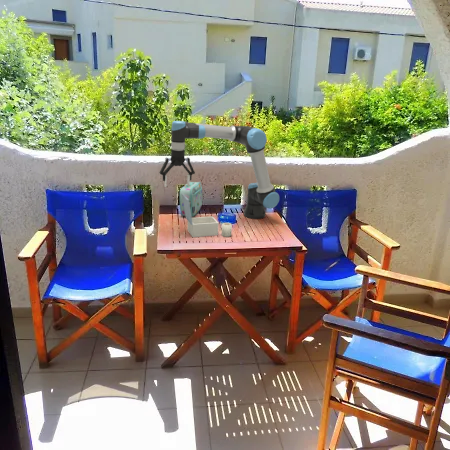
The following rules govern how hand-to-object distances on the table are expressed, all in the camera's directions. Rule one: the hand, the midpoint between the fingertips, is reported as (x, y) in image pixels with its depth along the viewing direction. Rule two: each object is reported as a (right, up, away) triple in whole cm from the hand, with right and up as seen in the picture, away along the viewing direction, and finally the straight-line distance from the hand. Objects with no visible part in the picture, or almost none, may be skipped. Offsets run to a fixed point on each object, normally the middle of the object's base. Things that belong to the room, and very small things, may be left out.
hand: (177, 186), depth 243 cm
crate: (+14, -27, +15) cm, 34 cm away
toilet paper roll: (+29, -29, +13) cm, 42 cm away
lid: (+6, -13, +6) cm, 16 cm away
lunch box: (+4, -14, +49) cm, 51 cm away
